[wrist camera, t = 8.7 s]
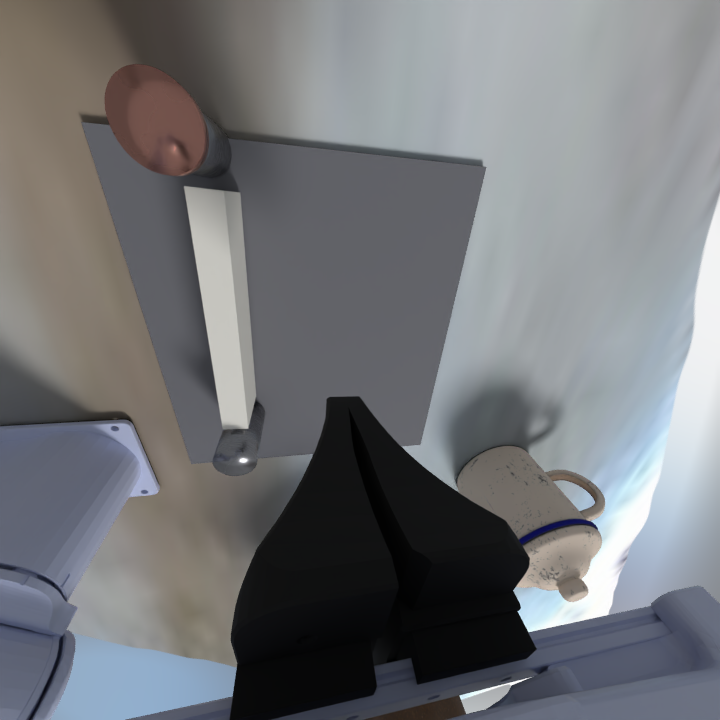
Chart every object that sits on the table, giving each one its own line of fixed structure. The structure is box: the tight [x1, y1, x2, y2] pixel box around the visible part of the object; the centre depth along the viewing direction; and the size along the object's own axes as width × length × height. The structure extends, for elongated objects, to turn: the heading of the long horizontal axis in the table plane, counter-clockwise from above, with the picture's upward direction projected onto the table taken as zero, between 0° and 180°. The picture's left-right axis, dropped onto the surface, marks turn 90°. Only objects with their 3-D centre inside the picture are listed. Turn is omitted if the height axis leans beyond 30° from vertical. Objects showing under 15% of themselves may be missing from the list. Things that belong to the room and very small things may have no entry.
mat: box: [81, 122, 486, 464], centre depth 20 cm, size 20×22×1 cm
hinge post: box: [212, 401, 265, 476], centre depth 20 cm, size 3×3×5 cm
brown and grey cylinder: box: [105, 64, 232, 178], centre depth 12 cm, size 3×3×6 cm
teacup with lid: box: [457, 446, 605, 602], centre depth 27 cm, size 12×9×12 cm
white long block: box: [184, 186, 256, 429], centre depth 16 cm, size 13×2×4 cm, turn 173°
